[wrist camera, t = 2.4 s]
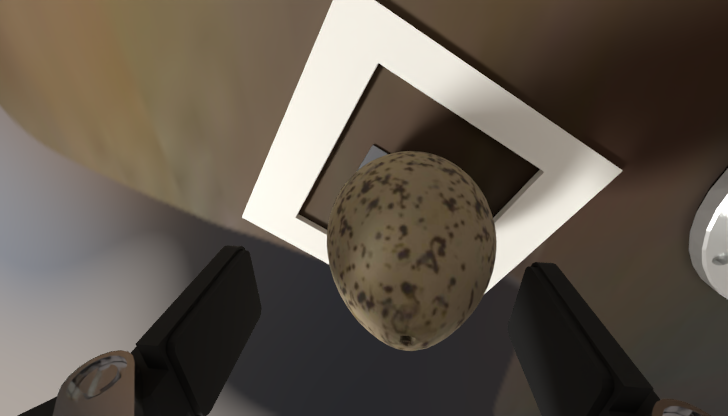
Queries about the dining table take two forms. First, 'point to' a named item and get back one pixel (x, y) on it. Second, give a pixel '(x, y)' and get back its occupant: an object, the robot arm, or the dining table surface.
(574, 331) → the robot arm
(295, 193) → the white square frame
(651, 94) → the dining table surface
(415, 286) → the decorative egg
